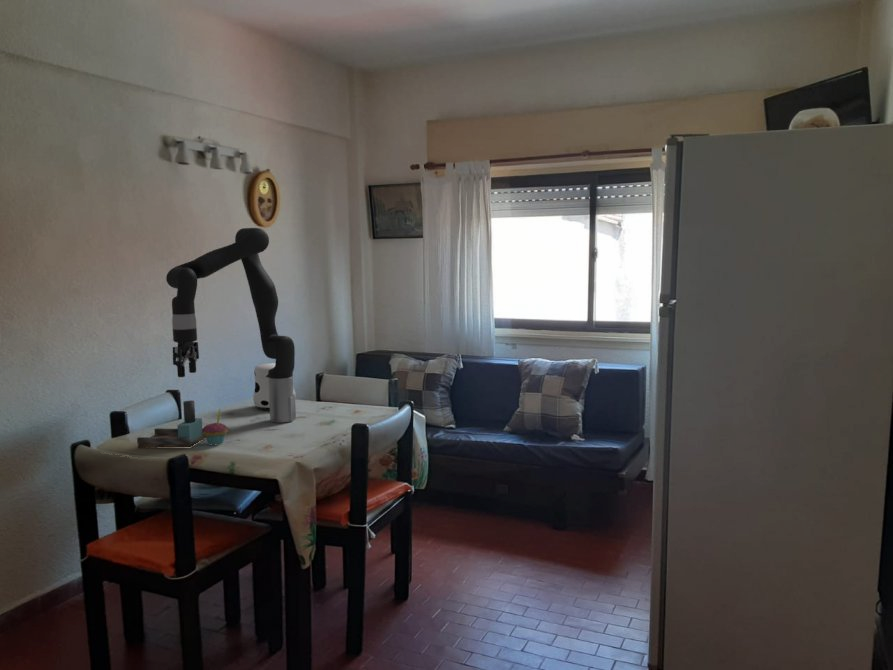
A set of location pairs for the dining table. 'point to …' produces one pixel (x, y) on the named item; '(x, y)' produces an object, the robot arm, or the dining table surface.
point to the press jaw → (190, 423)
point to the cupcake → (215, 432)
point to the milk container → (263, 386)
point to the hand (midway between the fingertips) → (187, 374)
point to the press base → (166, 439)
